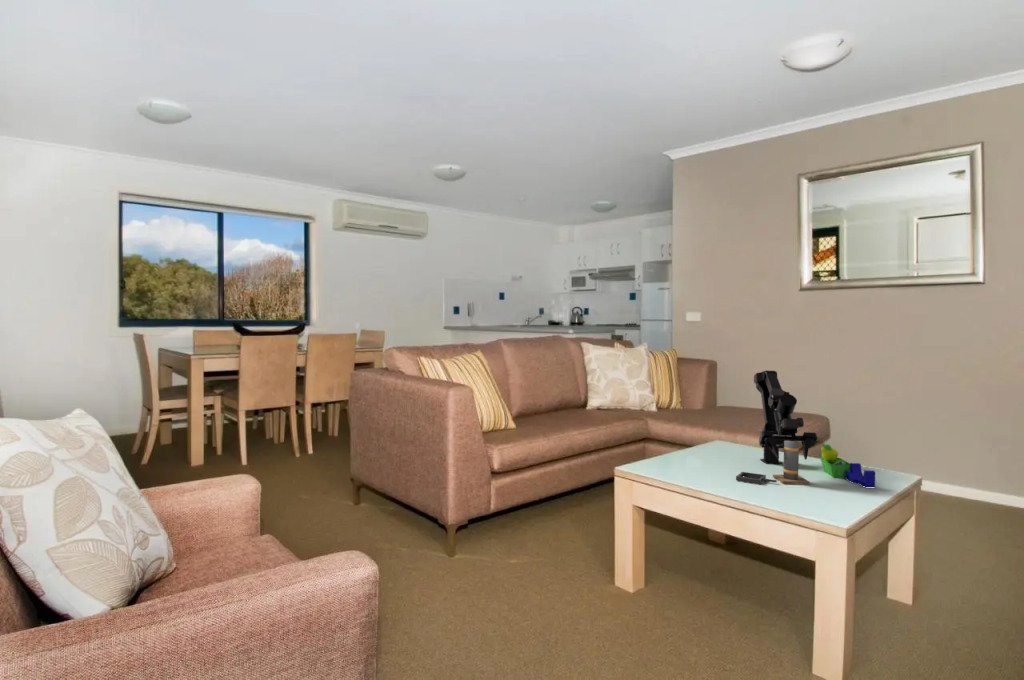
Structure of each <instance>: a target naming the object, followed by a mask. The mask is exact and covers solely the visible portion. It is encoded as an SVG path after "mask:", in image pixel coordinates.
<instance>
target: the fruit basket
mask: <svg viewBox="0 0 1024 680" xmlns="http://www.w3.org/2000/svg"><path fill="white" fill-rule="evenodd" d="M820 451H821V456H820V457H819V459H820V462H821V466H822V469H823V472H825V473H826V474H827V473H828V475H829V476H830V475H831V477H832V478H840V477H845V476H846V471H850V463H851V462H848V461H847V460H844V459H843V458H840V457H838V456H839V451H837V450H836V449H834V448H833V447H832V446H831V445H830V444H822V446H821V448H820Z"/></svg>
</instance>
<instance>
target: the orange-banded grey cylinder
mask: <svg viewBox="0 0 1024 680" xmlns="http://www.w3.org/2000/svg"><path fill="white" fill-rule="evenodd" d="M799 458H800V442H798V441H784V448H783V468H782V469H783V470H782V473H783V474H782V475H783V477H784V478H786V479H791V480H796V479H798V475H799V463H800V462H799Z"/></svg>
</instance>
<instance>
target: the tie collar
mask: <svg viewBox="0 0 1024 680" xmlns="http://www.w3.org/2000/svg"><path fill="white" fill-rule="evenodd" d="M743 476H745V477H743ZM749 477H751V478H749ZM735 478H736V479H735V480H738V481H737V482H740V481H744V482H743V483H747V482H749V483H748V484H753V483H754V485H762V484H763V483H764V482H770V483H777V482H778V480H776V479H770V478H767V474H761V473H755V472H754V473H753V472H748V471H747V472H746V471H741V472H739V474H738V475H736V476H735ZM755 478H756V479H755ZM763 481H764V482H763ZM762 482H763V483H762ZM761 483H762V484H761Z"/></svg>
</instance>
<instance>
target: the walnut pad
mask: <svg viewBox="0 0 1024 680" xmlns="http://www.w3.org/2000/svg"><path fill="white" fill-rule="evenodd" d="M773 477H774V478H773ZM772 478H773V479H774V480H777V482H779V481H780V483H781V484H783V485H810V481H809V480H807V479H805V478H804V477H802V476H801V475H799V474H798V479H796V480H791V479H786V478H784V477H783V474H772Z"/></svg>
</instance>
